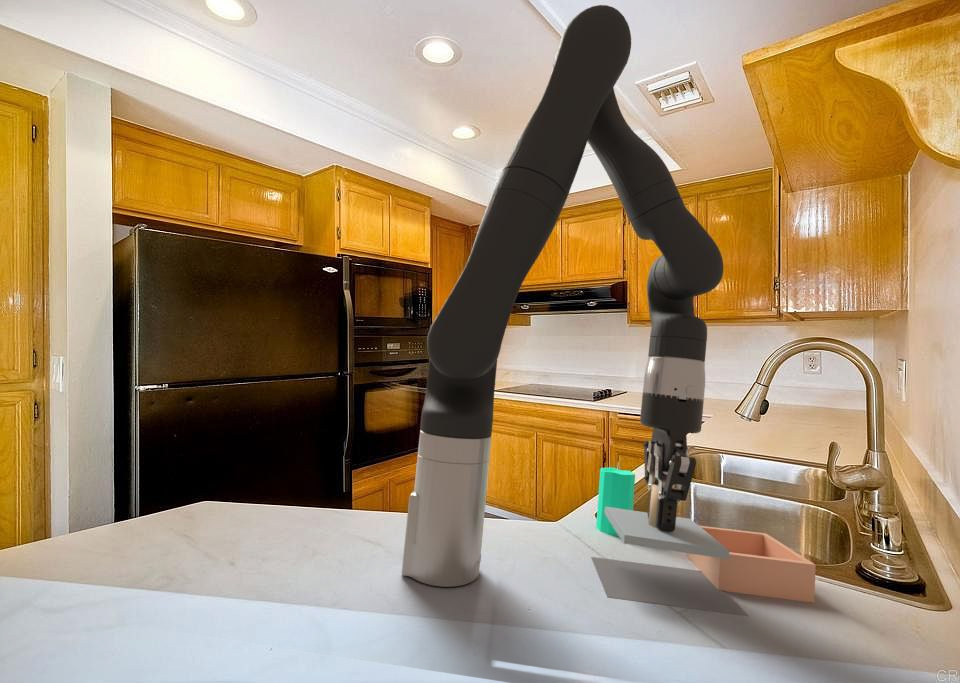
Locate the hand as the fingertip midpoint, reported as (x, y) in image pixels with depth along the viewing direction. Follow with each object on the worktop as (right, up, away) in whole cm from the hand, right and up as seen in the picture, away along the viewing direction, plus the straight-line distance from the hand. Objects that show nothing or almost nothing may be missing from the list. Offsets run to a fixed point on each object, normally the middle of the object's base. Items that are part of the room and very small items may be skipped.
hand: (660, 524), depth 59 cm
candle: (-1, -9, +19) cm, 22 cm away
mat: (0, -8, -1) cm, 8 cm away
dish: (+13, -9, +4) cm, 17 cm away
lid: (0, -1, 0) cm, 1 cm away
